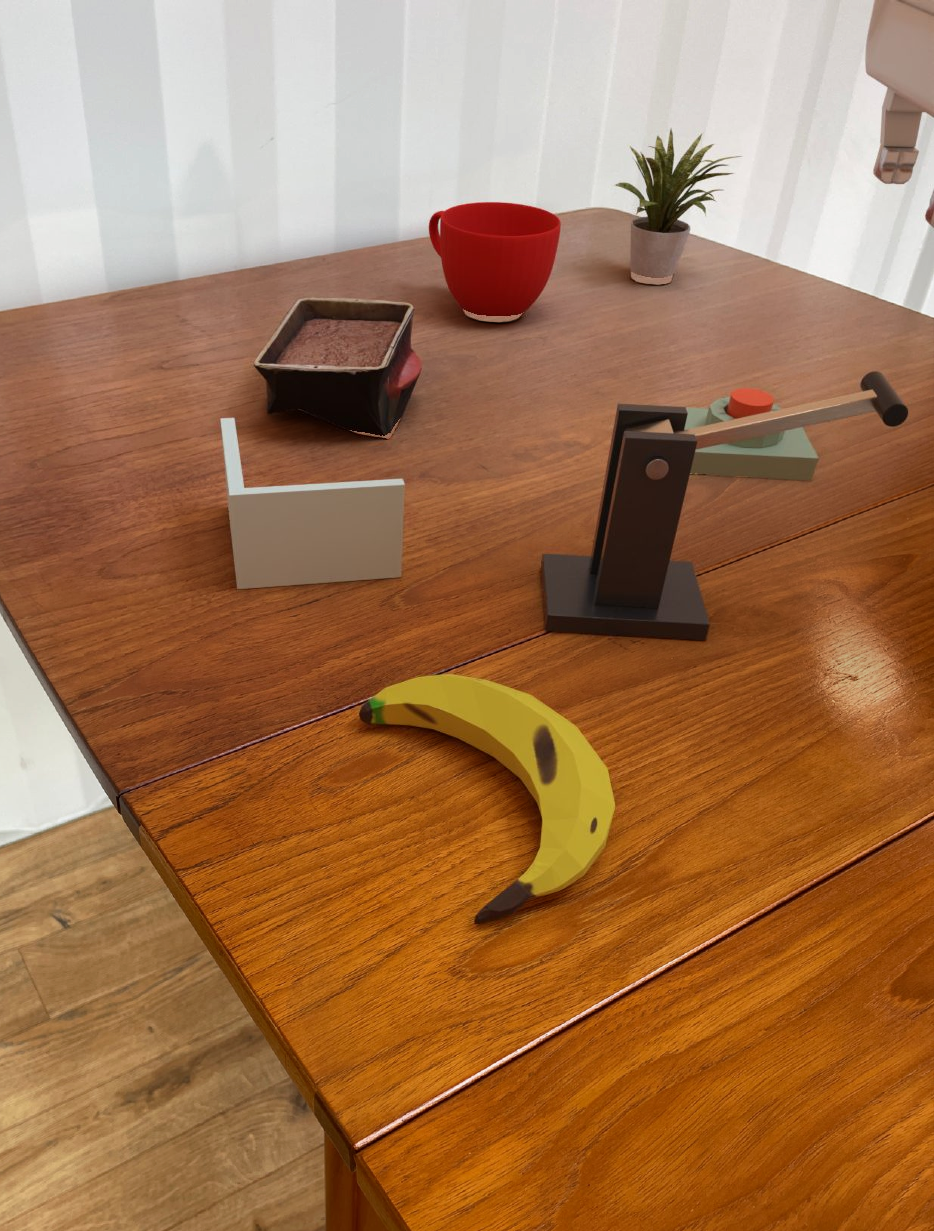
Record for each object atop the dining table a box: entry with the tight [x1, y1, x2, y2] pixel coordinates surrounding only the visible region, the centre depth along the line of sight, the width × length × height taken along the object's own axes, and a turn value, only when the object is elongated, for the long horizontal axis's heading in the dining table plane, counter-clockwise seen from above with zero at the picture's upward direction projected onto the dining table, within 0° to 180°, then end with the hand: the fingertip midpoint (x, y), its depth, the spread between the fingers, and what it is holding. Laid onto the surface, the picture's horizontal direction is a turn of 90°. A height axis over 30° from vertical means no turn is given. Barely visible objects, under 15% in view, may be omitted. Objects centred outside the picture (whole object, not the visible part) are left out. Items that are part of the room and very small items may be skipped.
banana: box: [358, 673, 616, 926], centre depth 59 cm, size 5×17×15 cm
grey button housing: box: [684, 396, 820, 482], centre depth 92 cm, size 11×9×4 cm
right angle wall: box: [219, 417, 406, 590], centre depth 78 cm, size 12×12×8 cm
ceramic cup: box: [428, 201, 562, 316], centre depth 117 cm, size 13×17×10 cm
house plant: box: [613, 128, 743, 278], centre depth 123 cm, size 14×14×16 cm
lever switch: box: [625, 370, 909, 450], centre depth 66 cm, size 16×5×2 cm, turn 86°
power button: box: [727, 387, 775, 419], centre depth 91 cm, size 4×4×2 cm
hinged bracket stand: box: [539, 403, 711, 641], centre depth 71 cm, size 11×8×14 cm
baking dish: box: [253, 296, 423, 436], centre depth 97 cm, size 14×18×10 cm
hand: (915, 203), depth 59 cm, fingers open, 8 cm apart
